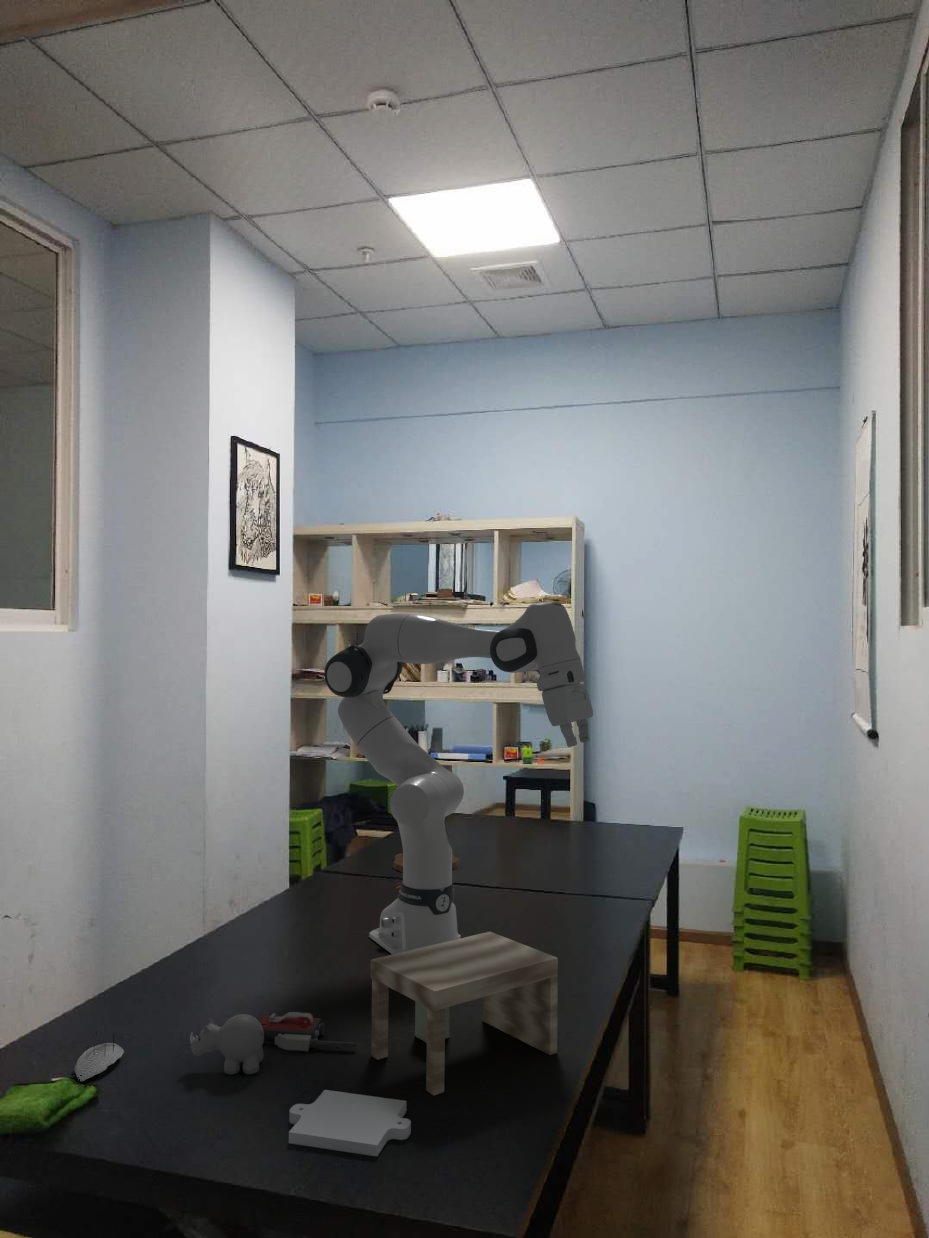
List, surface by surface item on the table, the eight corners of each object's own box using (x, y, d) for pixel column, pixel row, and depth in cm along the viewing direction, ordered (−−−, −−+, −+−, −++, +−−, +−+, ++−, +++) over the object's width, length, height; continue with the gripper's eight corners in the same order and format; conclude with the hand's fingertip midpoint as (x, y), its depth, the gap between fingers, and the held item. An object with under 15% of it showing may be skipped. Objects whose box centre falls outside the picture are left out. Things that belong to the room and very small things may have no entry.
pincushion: (99, 1085, 152) (99, 1049, 152) (62, 1083, 153) (62, 1047, 153) (134, 1053, 164) (134, 1019, 164) (99, 1050, 165) (99, 1017, 165)
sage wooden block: (415, 1035, 172) (415, 990, 172) (435, 1029, 175) (436, 984, 175) (428, 1043, 169) (428, 996, 169) (449, 1037, 172) (449, 991, 172)
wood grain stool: (369, 1055, 164) (370, 959, 164) (489, 1018, 180) (489, 931, 180) (433, 1096, 150) (434, 991, 150) (556, 1052, 166) (557, 957, 166)
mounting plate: (422, 1116, 144) (422, 1103, 144) (394, 1162, 132) (395, 1147, 132) (309, 1100, 149) (309, 1087, 149) (271, 1143, 136) (272, 1129, 136)
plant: (457, 875, 287) (457, 837, 287) (390, 874, 287) (391, 836, 288) (458, 859, 307) (459, 823, 307) (396, 858, 307) (397, 822, 308)
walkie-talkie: (237, 1050, 166) (354, 1056, 164) (238, 1024, 166) (354, 1029, 165) (253, 1029, 175) (363, 1034, 173) (253, 1004, 175) (364, 1009, 173)
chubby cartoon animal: (196, 1057, 162) (197, 1005, 163) (268, 1059, 162) (269, 1007, 162) (182, 1077, 155) (183, 1023, 155) (258, 1078, 155) (258, 1024, 155)
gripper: (563, 679, 211) (578, 742, 210) (533, 683, 193) (549, 752, 191) (590, 672, 209) (606, 736, 208) (563, 675, 190) (580, 745, 189)
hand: (579, 744), depth 199 cm, fingers open, 8 cm apart
